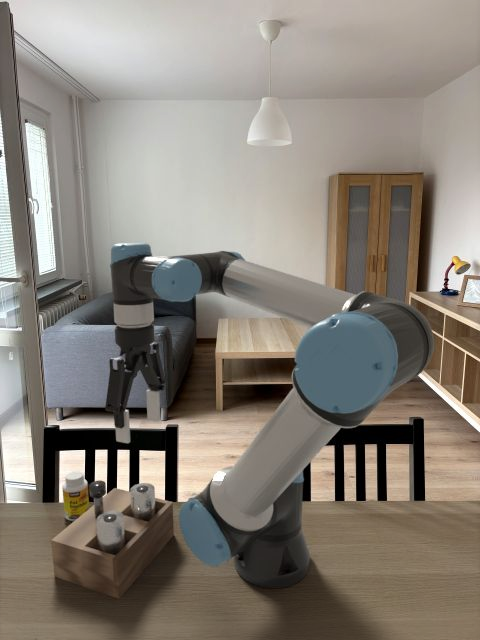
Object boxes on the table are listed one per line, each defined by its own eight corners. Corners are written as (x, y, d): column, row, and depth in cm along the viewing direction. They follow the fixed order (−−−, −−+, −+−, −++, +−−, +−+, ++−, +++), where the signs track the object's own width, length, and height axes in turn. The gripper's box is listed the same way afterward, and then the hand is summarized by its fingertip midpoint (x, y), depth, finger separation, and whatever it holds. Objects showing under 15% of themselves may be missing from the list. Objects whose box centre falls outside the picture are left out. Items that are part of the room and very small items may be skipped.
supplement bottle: (68, 525, 114) (65, 484, 112) (61, 513, 119) (58, 473, 116) (92, 517, 117) (90, 476, 115) (85, 505, 122) (82, 466, 119)
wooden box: (173, 535, 111) (172, 502, 109) (119, 598, 92) (116, 560, 91) (116, 519, 116) (114, 487, 114) (54, 576, 98) (51, 540, 96)
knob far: (160, 523, 109) (159, 485, 107) (147, 537, 104) (146, 497, 102) (140, 518, 111) (138, 480, 109) (127, 531, 106) (125, 492, 104)
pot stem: (110, 513, 105) (108, 482, 103) (101, 521, 102) (98, 490, 101) (98, 509, 106) (96, 479, 105) (88, 518, 103) (85, 486, 102)
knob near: (131, 555, 99) (128, 513, 97) (115, 572, 94) (113, 528, 92) (109, 549, 101) (107, 507, 99) (93, 565, 96) (90, 521, 94)
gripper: (149, 311, 110) (153, 407, 114) (79, 335, 89) (87, 451, 94) (180, 314, 107) (182, 412, 112) (114, 339, 86) (121, 458, 91)
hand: (139, 430), depth 103 cm, fingers open, 10 cm apart
